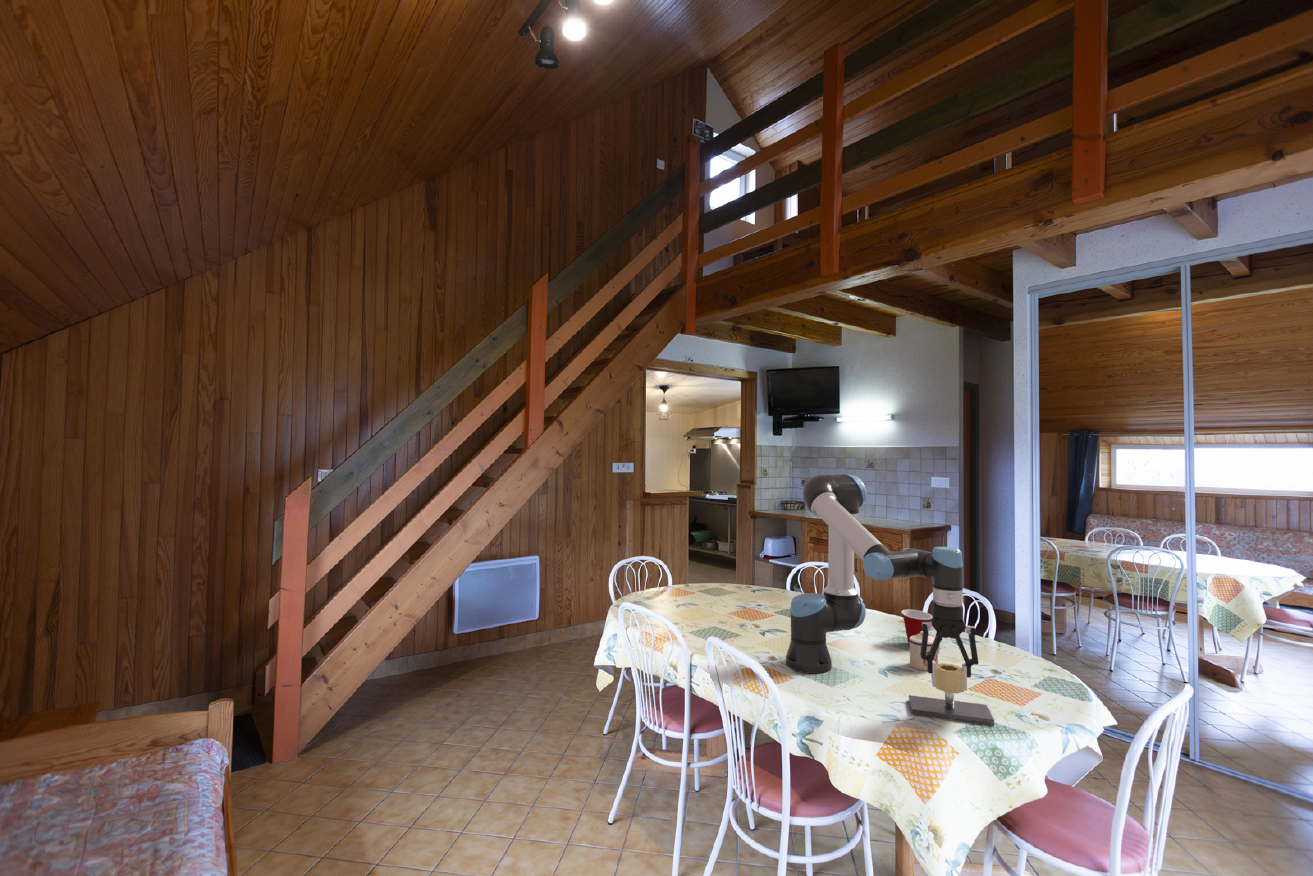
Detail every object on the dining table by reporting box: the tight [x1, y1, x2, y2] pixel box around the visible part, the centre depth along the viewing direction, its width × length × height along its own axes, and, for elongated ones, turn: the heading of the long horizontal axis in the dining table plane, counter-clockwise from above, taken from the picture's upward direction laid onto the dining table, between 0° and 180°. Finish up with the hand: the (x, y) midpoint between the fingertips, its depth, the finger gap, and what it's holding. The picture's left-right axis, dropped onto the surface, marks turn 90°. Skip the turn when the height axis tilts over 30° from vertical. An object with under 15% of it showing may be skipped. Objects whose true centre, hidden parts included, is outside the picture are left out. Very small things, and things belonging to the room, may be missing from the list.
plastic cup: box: [901, 609, 933, 646], centre depth 222 cm, size 11×11×12 cm
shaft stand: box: [908, 692, 995, 726], centre depth 164 cm, size 20×10×8 cm, turn 71°
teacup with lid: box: [909, 631, 940, 672], centre depth 200 cm, size 12×9×12 cm
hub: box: [935, 663, 965, 694], centre depth 163 cm, size 7×7×6 cm
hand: (949, 686), depth 164 cm, fingers closed on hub, 7 cm apart
